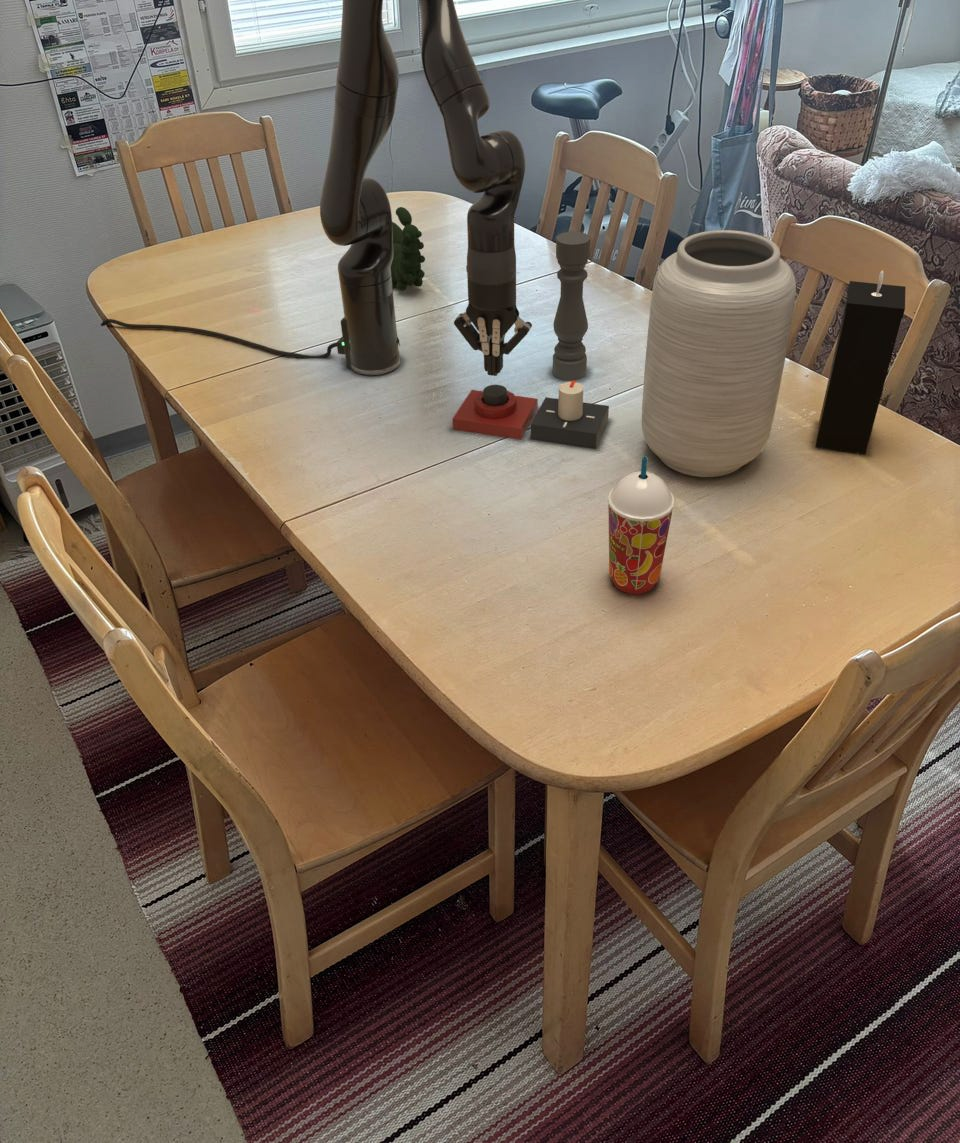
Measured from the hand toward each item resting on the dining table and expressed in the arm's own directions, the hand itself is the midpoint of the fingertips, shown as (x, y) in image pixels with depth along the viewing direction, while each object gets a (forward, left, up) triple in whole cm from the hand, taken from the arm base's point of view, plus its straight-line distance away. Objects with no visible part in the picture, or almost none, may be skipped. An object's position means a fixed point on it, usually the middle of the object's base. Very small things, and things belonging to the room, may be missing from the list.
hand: (493, 373), depth 159 cm
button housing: (0, 0, -9) cm, 9 cm away
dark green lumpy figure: (-39, +50, -9) cm, 64 cm away
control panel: (+13, 0, -9) cm, 16 cm away
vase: (+35, -1, -9) cm, 36 cm away
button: (0, 0, -5) cm, 5 cm away
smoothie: (+31, -35, -9) cm, 48 cm away
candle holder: (+8, +19, -9) cm, 23 cm away
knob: (+13, 0, -6) cm, 14 cm away
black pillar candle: (+56, +9, -9) cm, 58 cm away
